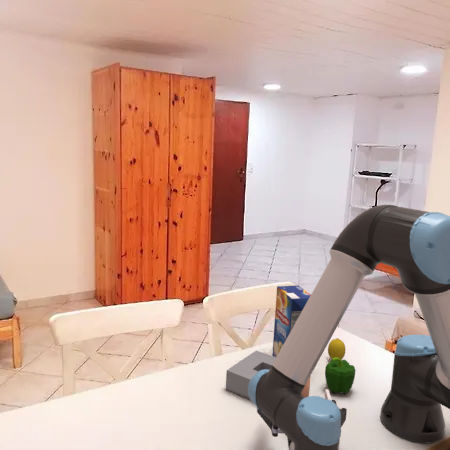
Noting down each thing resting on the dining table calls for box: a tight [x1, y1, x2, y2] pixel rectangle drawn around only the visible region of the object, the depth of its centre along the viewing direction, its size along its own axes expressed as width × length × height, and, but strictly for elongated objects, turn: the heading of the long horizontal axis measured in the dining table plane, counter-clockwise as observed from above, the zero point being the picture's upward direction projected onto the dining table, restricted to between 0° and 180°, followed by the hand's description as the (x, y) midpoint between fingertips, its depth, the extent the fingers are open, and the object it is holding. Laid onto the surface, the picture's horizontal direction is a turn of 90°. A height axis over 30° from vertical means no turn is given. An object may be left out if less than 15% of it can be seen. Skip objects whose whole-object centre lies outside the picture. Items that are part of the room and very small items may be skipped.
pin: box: [301, 374, 312, 398], centre depth 111 cm, size 4×4×16 cm
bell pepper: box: [324, 357, 356, 395], centre depth 129 cm, size 8×8×10 cm
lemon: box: [327, 338, 346, 360], centre depth 146 cm, size 6×6×8 cm
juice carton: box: [271, 284, 312, 357], centre depth 141 cm, size 12×8×24 cm, turn 16°
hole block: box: [225, 350, 276, 401], centre depth 128 cm, size 16×16×6 cm
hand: (298, 391), depth 111 cm, fingers open, 13 cm apart
